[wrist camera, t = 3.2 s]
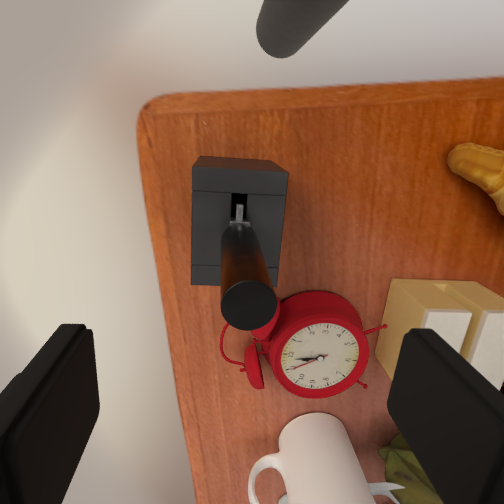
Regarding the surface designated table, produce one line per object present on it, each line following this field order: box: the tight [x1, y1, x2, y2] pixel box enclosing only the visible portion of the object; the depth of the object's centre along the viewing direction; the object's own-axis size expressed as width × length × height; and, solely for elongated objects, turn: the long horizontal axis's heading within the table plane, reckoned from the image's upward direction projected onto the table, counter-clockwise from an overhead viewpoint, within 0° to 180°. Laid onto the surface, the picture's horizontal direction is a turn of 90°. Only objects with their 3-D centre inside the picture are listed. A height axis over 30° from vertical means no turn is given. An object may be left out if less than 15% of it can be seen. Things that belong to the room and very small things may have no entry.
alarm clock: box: [220, 291, 388, 399], centre depth 33 cm, size 10×6×15 cm
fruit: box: [377, 433, 444, 504], centre depth 39 cm, size 11×12×7 cm
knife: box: [221, 193, 278, 331], centre depth 21 cm, size 4×2×18 cm, turn 176°
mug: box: [248, 413, 376, 504], centre depth 35 cm, size 12×8×10 cm, turn 92°
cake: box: [374, 279, 504, 391], centre depth 33 cm, size 9×9×7 cm
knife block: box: [191, 156, 289, 287], centre depth 26 cm, size 8×6×8 cm
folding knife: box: [368, 482, 405, 492], centre depth 39 cm, size 14×2×2 cm
